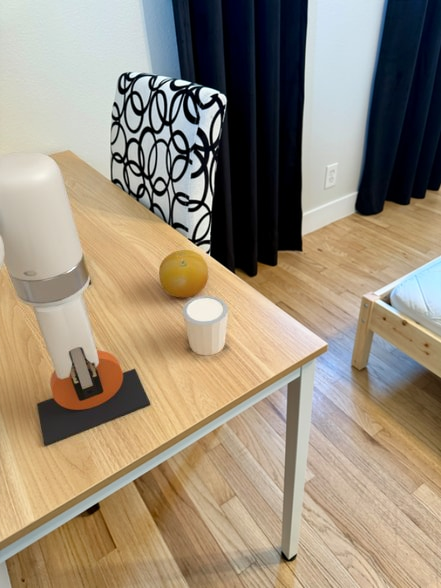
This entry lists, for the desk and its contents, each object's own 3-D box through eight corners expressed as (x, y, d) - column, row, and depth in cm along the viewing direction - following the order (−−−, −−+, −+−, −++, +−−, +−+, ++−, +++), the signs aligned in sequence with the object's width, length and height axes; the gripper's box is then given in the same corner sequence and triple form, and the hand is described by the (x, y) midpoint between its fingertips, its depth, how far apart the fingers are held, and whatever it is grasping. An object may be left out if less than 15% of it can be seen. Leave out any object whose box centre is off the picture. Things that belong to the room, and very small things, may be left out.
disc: (61, 419, 57) (43, 373, 51) (59, 410, 58) (41, 364, 52) (127, 394, 60) (117, 348, 54) (124, 386, 61) (114, 341, 55)
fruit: (167, 310, 75) (162, 272, 70) (157, 284, 81) (151, 248, 76) (215, 298, 77) (213, 261, 72) (201, 274, 83) (199, 238, 78)
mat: (45, 446, 54) (44, 443, 54) (37, 406, 59) (36, 403, 59) (150, 405, 59) (150, 402, 59) (135, 371, 64) (134, 368, 64)
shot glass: (177, 349, 67) (173, 315, 63) (199, 323, 72) (196, 290, 68) (216, 364, 65) (214, 329, 60) (236, 335, 69) (235, 302, 65)
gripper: (7, 247, 50) (50, 357, 61) (21, 331, 38) (71, 447, 50) (72, 232, 52) (102, 340, 64) (104, 306, 41) (133, 422, 52)
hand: (88, 386), depth 57 cm, fingers closed
